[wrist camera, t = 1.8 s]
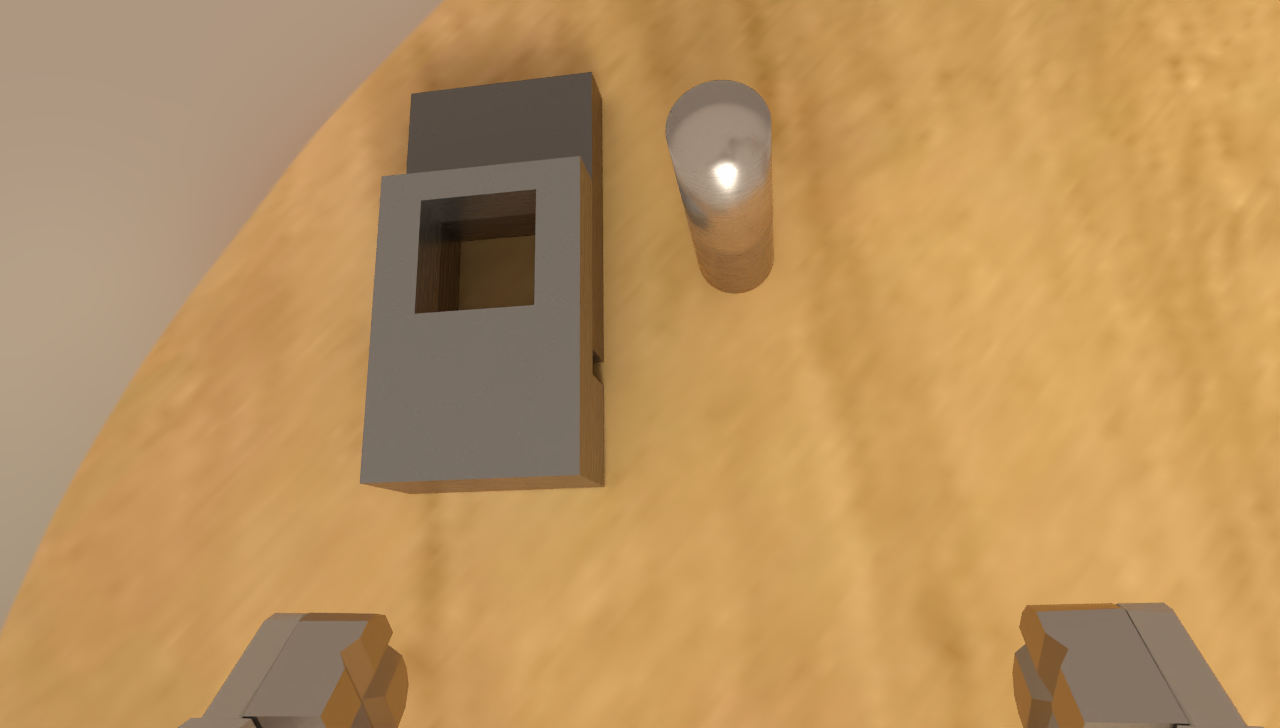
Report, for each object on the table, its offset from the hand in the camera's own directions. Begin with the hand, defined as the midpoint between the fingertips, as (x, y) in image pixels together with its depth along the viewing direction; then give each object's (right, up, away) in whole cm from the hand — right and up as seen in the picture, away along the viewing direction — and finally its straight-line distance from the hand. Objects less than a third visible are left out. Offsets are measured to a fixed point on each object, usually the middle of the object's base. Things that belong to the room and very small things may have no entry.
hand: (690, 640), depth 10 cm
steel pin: (+3, +8, +22) cm, 23 cm away
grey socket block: (-6, +7, +23) cm, 25 cm away
